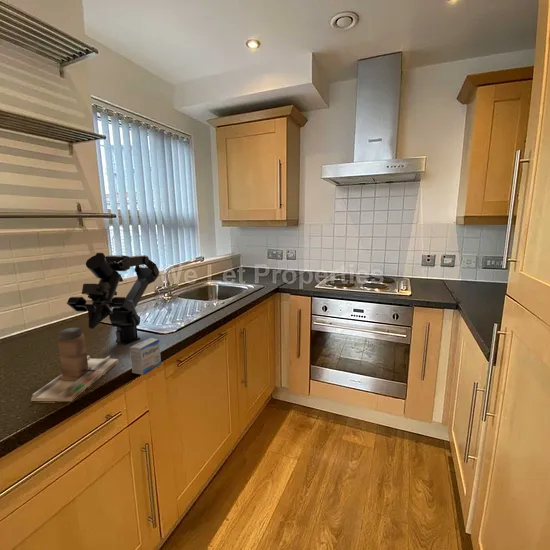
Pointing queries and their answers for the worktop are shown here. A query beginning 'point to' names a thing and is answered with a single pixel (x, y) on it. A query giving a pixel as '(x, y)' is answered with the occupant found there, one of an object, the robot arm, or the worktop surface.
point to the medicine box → (145, 356)
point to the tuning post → (73, 354)
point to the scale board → (74, 382)
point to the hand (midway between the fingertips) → (90, 328)
